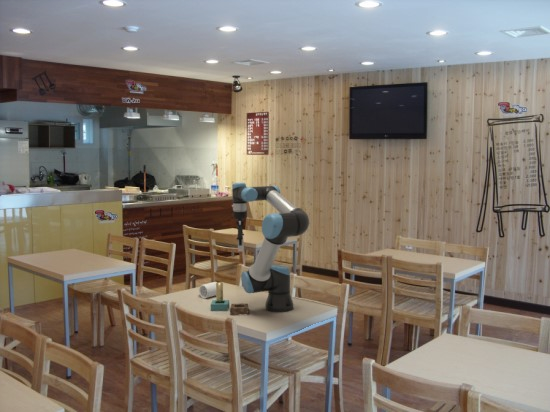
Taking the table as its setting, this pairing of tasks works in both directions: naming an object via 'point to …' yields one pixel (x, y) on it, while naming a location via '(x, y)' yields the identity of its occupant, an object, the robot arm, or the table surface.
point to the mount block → (239, 309)
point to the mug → (208, 290)
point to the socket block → (219, 305)
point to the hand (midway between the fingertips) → (240, 249)
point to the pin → (219, 292)
